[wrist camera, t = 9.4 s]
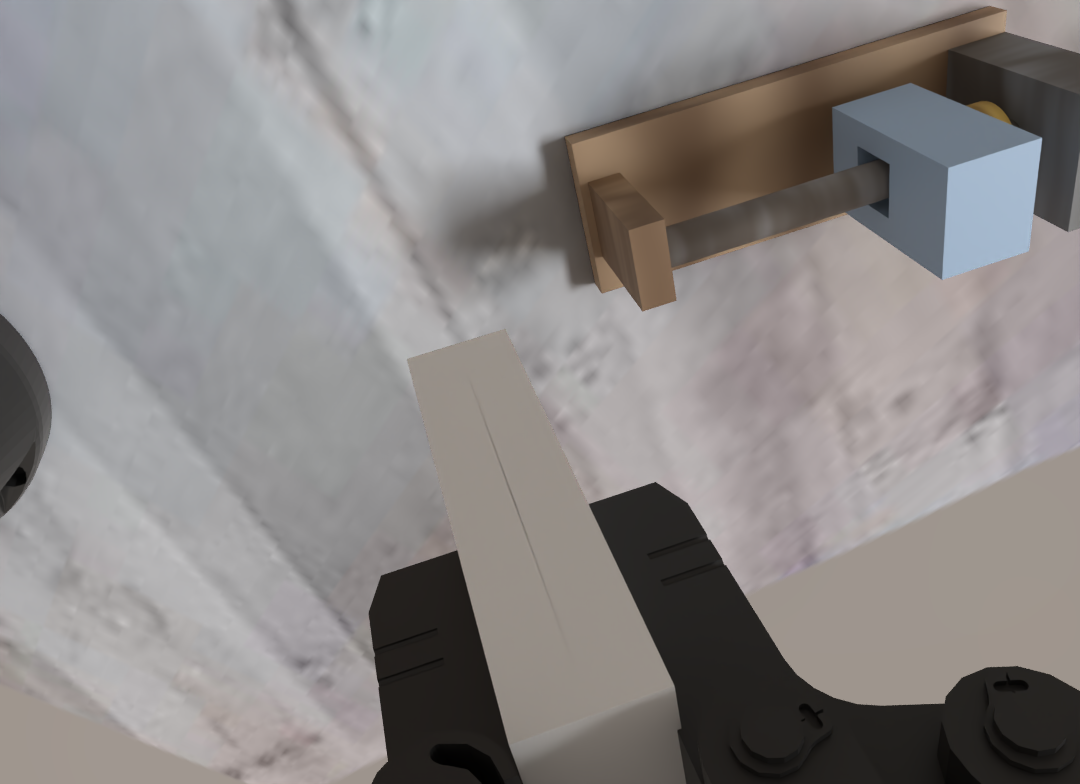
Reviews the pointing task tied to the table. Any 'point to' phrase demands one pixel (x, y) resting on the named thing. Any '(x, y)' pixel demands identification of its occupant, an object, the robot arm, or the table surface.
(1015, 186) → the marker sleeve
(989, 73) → the sliding block fixture
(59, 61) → the table surface
